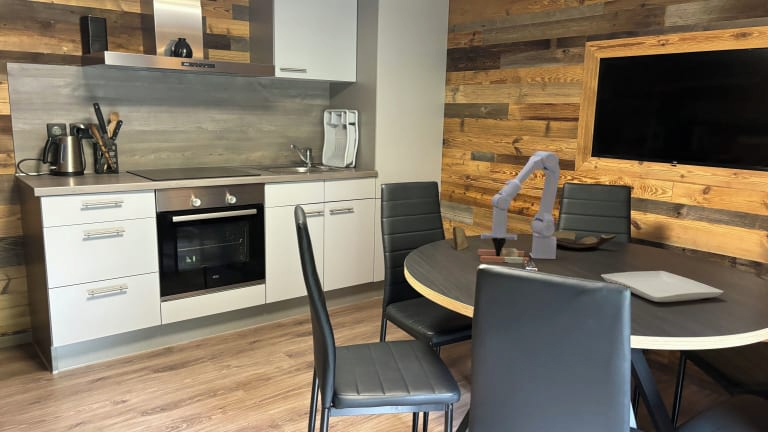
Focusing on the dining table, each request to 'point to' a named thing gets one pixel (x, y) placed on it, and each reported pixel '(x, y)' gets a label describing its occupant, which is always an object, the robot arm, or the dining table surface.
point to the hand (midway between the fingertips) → (497, 256)
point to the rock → (459, 238)
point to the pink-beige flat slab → (501, 259)
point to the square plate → (662, 286)
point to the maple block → (509, 252)
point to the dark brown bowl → (569, 238)
